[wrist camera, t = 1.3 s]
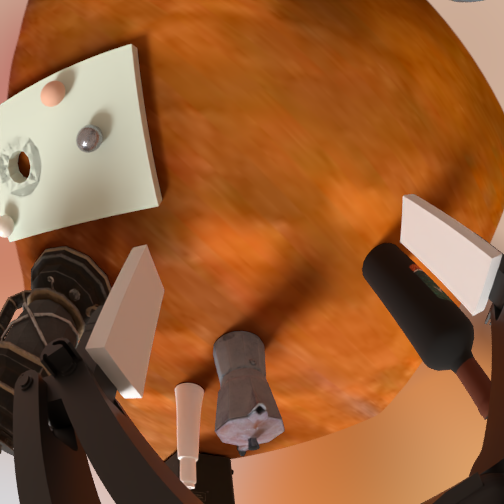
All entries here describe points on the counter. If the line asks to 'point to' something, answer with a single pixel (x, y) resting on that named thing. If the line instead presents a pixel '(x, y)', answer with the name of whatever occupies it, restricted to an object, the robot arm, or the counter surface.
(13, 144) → the board
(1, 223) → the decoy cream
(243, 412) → the moka pot
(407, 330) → the wine bottle
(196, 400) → the cosmetic bottle
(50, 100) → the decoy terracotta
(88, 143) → the steel ball
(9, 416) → the lantern
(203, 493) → the black rectangular block
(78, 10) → the counter surface
